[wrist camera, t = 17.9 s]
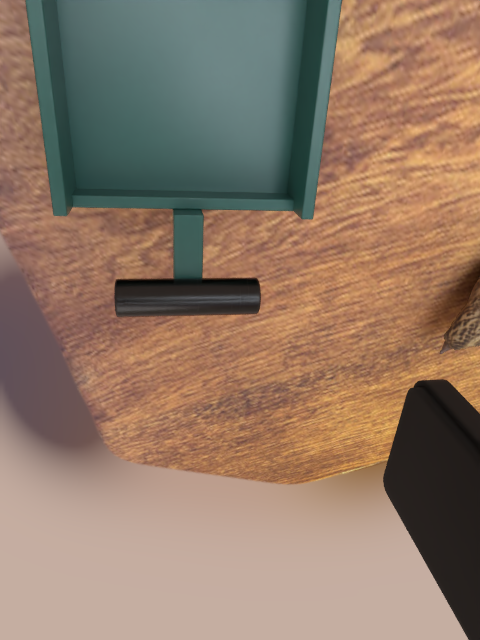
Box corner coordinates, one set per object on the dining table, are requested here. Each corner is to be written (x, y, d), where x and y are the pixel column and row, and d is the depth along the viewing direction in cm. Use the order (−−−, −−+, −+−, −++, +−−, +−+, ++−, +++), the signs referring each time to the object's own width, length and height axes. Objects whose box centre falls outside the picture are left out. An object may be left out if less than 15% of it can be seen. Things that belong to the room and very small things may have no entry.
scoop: (284, 287, 23) (303, 319, 20) (77, 289, 21) (64, 325, 18) (347, -282, 14) (400, -379, 11) (3, -355, 13) (-46, -492, 10)
